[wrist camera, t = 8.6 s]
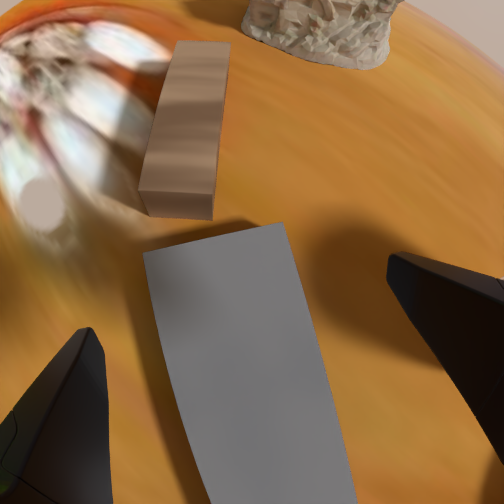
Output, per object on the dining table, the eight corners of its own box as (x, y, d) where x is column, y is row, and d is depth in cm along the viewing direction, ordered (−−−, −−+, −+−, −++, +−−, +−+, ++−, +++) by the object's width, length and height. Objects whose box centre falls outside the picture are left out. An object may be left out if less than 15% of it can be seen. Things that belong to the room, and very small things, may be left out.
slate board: (346, 493, 16) (358, 504, 14) (227, 529, 15) (228, 544, 13) (276, 233, 20) (282, 221, 18) (149, 262, 19) (142, 252, 17)
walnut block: (212, 193, 17) (230, 42, 20) (137, 190, 16) (177, 40, 20) (212, 222, 20) (227, 78, 24) (150, 218, 20) (180, 76, 24)
